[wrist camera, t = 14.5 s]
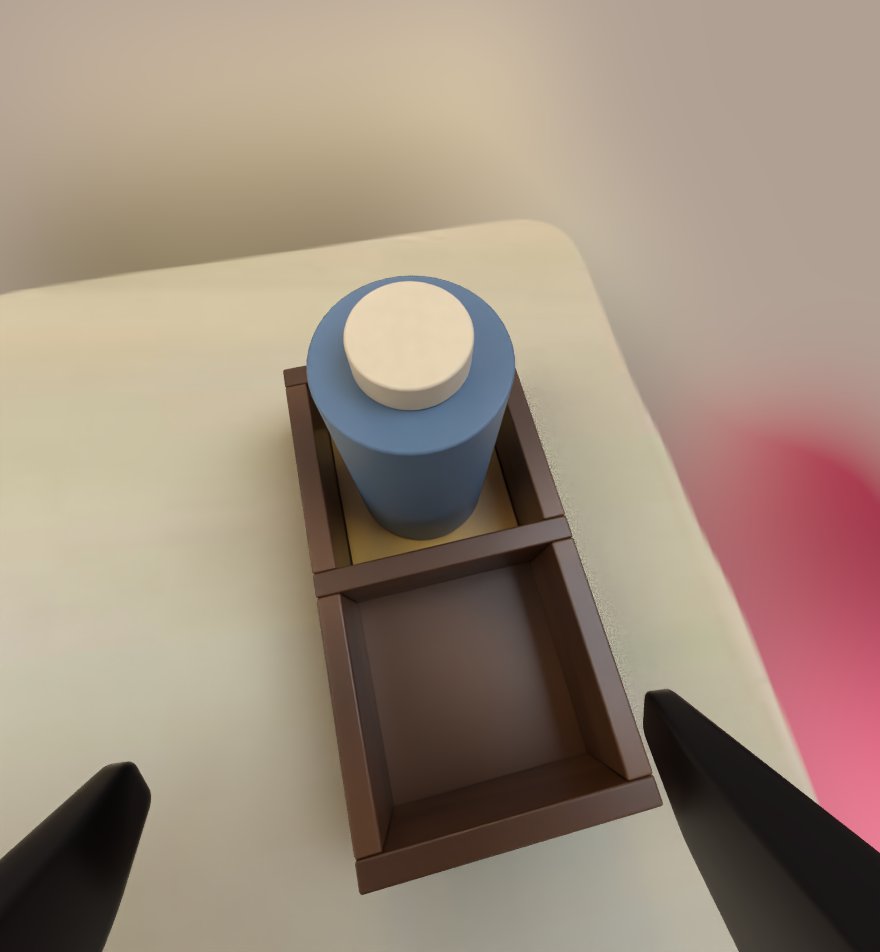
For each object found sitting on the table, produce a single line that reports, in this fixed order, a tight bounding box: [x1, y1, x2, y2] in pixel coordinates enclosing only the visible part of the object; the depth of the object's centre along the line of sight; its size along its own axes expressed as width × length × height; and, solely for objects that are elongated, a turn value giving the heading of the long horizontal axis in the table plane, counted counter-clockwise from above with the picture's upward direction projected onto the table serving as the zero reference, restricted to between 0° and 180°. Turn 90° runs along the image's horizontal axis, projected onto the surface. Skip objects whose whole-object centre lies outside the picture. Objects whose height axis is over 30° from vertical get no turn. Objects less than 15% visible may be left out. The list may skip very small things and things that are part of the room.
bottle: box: [306, 276, 515, 540], centre depth 16 cm, size 5×5×10 cm
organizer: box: [283, 366, 663, 895], centre depth 18 cm, size 17×9×4 cm, turn 13°
